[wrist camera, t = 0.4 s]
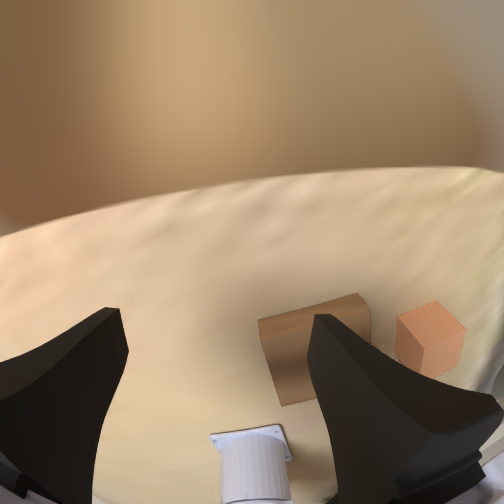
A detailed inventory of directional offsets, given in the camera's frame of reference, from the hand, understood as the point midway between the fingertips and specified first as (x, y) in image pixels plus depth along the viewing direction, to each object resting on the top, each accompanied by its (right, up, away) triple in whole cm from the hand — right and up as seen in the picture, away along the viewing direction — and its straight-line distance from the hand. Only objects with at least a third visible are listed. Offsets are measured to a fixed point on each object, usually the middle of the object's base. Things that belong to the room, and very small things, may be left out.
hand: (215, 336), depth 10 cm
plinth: (+7, -5, +13) cm, 15 cm away
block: (+17, -4, +13) cm, 22 cm away
